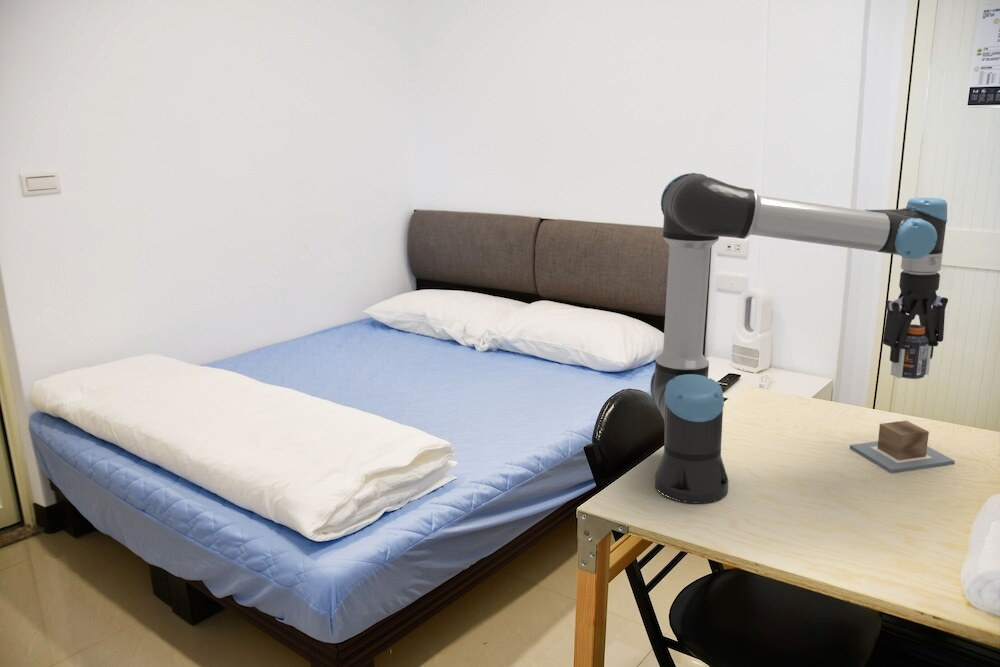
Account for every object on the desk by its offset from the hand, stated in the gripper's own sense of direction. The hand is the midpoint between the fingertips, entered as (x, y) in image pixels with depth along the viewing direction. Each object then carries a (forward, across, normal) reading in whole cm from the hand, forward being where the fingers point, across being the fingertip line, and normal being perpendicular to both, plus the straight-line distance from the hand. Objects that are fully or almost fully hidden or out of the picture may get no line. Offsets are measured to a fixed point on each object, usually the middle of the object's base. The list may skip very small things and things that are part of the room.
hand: (909, 374), depth 172 cm
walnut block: (+19, 0, 0) cm, 19 cm away
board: (+20, 0, 0) cm, 20 cm away
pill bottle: (0, 0, 0) cm, 0 cm away
